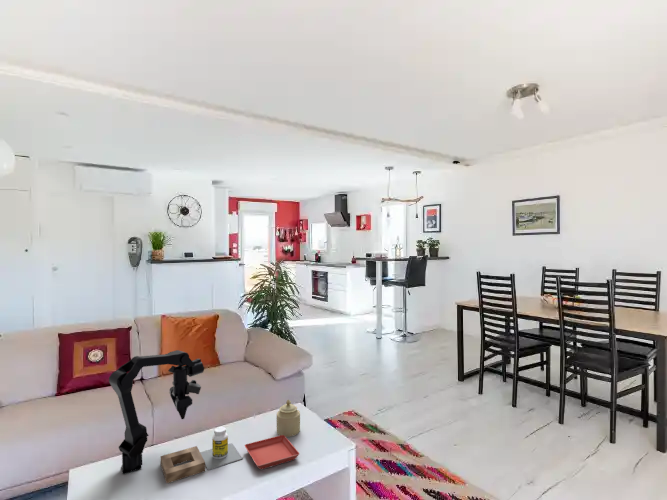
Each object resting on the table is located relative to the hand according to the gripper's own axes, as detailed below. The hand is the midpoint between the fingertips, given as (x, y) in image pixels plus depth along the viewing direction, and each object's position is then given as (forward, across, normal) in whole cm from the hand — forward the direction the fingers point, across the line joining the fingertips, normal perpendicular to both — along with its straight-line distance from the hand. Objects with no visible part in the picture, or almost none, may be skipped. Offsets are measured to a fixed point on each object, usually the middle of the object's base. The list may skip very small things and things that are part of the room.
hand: (180, 414), depth 168 cm
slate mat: (+13, -19, -12) cm, 26 cm away
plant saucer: (+14, -30, -30) cm, 44 cm away
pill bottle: (+13, -19, -12) cm, 26 cm away
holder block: (+13, -19, +3) cm, 23 cm away
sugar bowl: (+13, -13, -45) cm, 49 cm away
